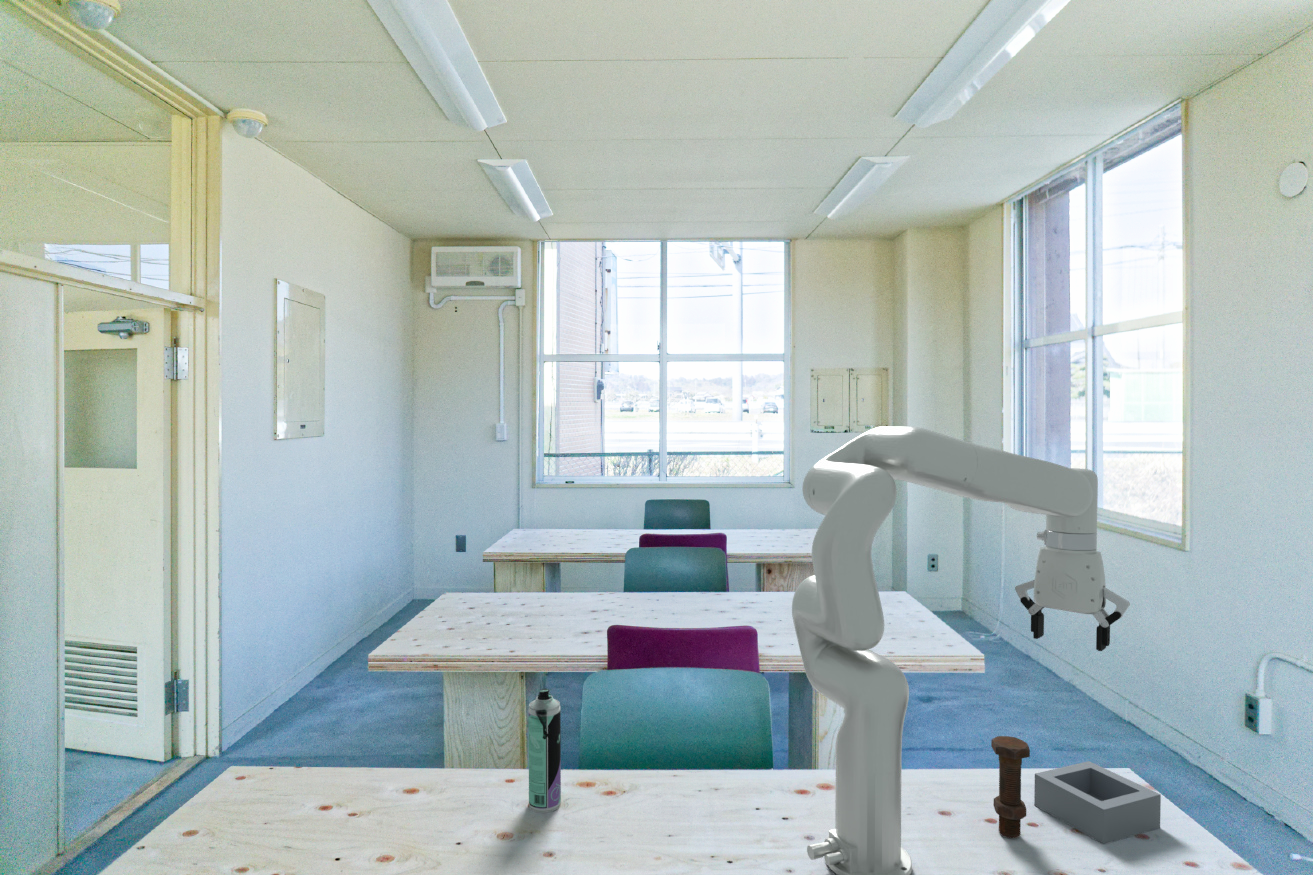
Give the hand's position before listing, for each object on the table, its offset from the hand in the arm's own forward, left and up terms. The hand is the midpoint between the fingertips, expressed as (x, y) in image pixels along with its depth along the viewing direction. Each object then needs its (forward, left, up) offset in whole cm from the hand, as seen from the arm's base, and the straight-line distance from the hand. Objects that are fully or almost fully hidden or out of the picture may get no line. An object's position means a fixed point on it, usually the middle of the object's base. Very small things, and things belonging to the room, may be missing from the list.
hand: (1069, 643), depth 127 cm
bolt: (-14, -2, -29) cm, 33 cm away
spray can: (-81, +35, -29) cm, 94 cm away
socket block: (+4, -3, -29) cm, 29 cm away
